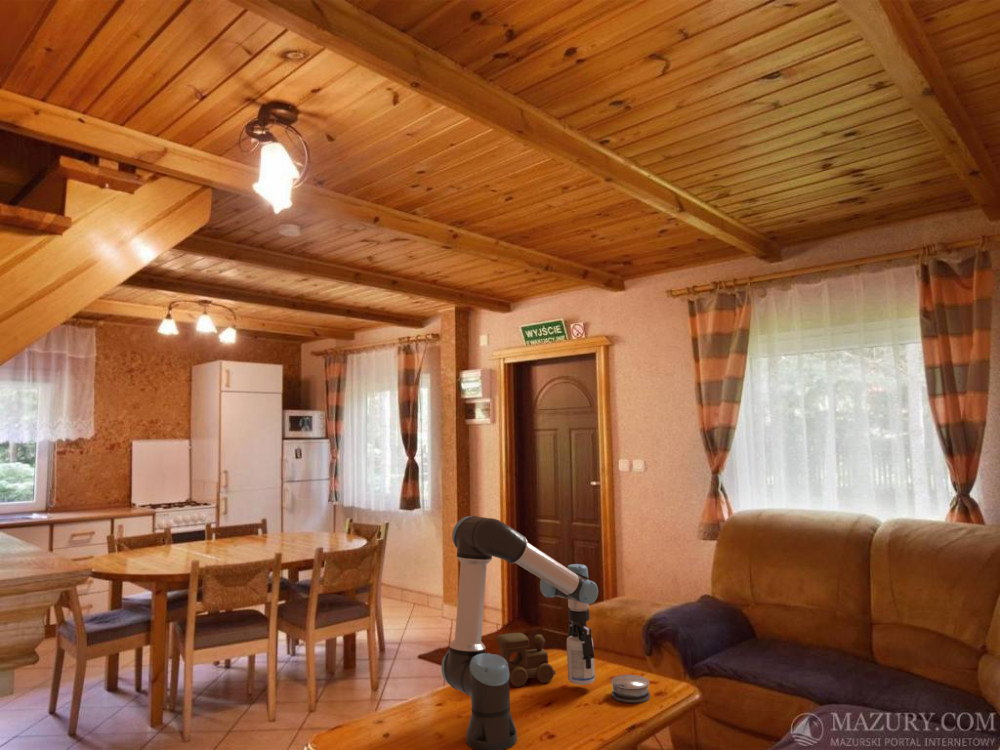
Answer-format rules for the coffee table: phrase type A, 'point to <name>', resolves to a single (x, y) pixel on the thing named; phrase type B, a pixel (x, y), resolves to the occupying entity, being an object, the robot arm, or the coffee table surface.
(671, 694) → the coffee table surface
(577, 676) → the supplement tub
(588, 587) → the robot arm
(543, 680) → the wooden toy train
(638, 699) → the duct stub
